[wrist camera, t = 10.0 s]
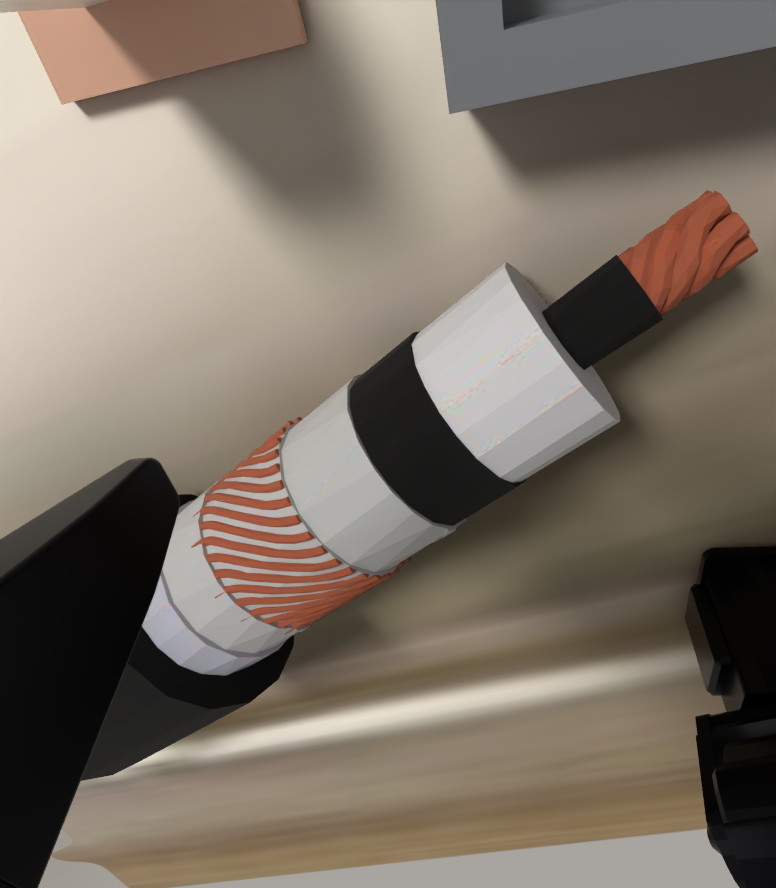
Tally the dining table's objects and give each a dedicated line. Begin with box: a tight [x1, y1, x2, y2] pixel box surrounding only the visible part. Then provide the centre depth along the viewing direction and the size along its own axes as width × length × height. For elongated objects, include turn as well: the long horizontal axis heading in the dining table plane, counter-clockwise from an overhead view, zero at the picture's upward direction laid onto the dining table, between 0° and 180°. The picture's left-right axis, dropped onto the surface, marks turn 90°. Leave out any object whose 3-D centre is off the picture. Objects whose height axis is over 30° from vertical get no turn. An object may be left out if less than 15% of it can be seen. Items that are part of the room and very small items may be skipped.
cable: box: [81, 191, 758, 781], centre depth 23 cm, size 10×34×10 cm, turn 134°
